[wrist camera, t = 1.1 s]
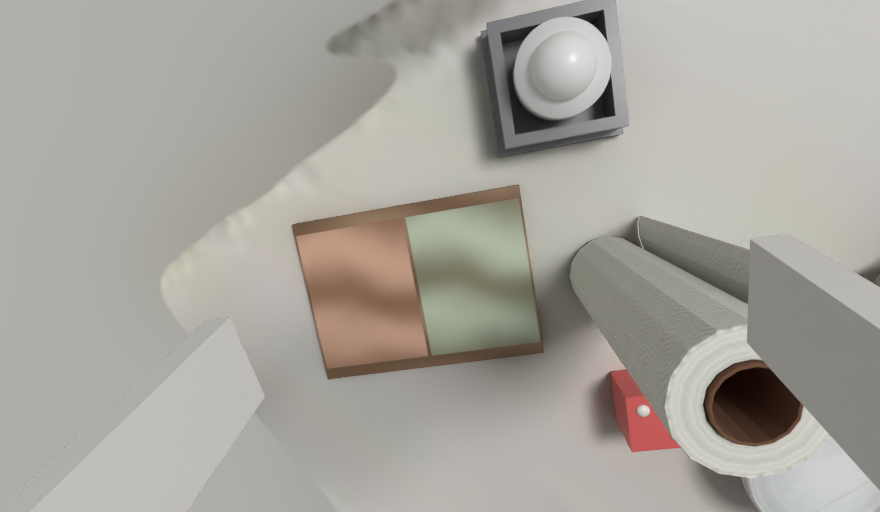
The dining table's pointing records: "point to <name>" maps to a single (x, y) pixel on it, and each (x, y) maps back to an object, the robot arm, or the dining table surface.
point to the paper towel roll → (695, 347)
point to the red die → (638, 416)
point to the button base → (518, 124)
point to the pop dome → (561, 68)
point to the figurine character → (878, 280)
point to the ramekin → (816, 486)
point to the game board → (421, 284)
